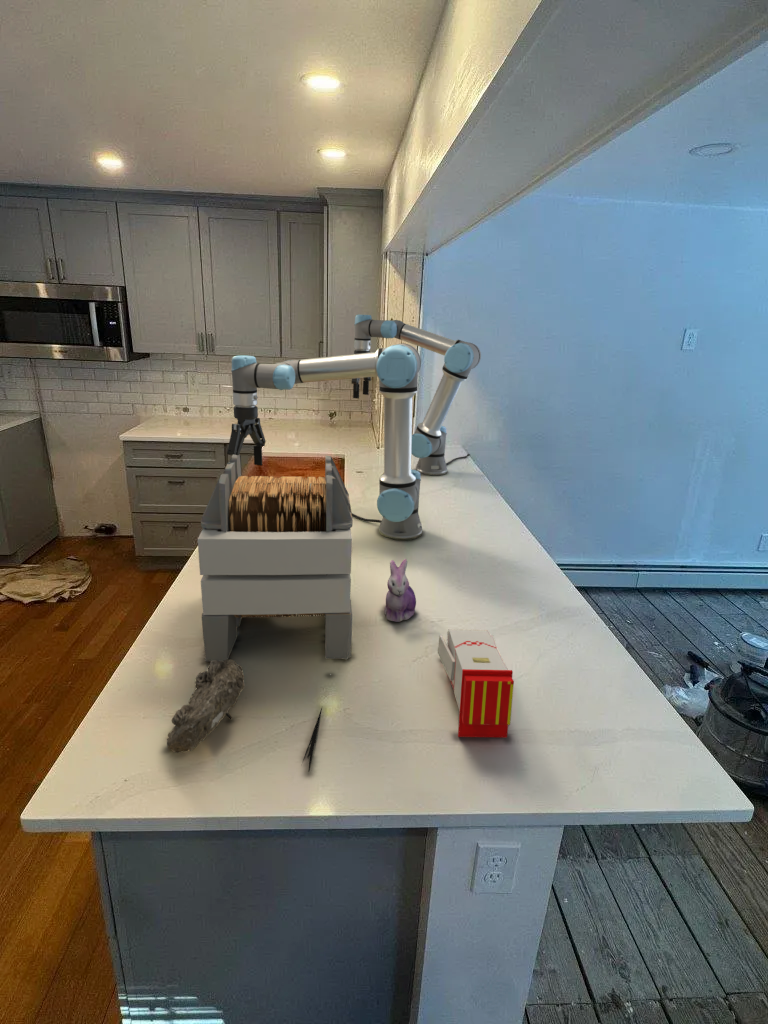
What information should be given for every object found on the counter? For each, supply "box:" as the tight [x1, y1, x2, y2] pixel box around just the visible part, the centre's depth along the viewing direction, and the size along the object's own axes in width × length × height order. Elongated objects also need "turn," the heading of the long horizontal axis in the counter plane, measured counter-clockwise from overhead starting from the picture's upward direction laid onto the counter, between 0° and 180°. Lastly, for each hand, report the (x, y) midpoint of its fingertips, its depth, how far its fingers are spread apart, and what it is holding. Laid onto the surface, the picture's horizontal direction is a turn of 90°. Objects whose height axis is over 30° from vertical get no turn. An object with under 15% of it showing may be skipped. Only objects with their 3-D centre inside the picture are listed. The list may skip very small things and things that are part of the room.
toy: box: [437, 628, 515, 738], centre depth 117 cm, size 12×13×30 cm
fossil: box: [166, 658, 245, 754], centre depth 106 cm, size 22×10×15 cm
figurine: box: [384, 558, 417, 623], centre depth 145 cm, size 9×10×15 cm
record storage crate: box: [197, 454, 354, 663], centre depth 134 cm, size 34×33×41 cm
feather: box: [301, 673, 332, 771], centre depth 108 cm, size 2×28×2 cm
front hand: (248, 469), depth 189 cm, fingers open, 13 cm apart
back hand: (360, 396), depth 268 cm, fingers open, 13 cm apart
